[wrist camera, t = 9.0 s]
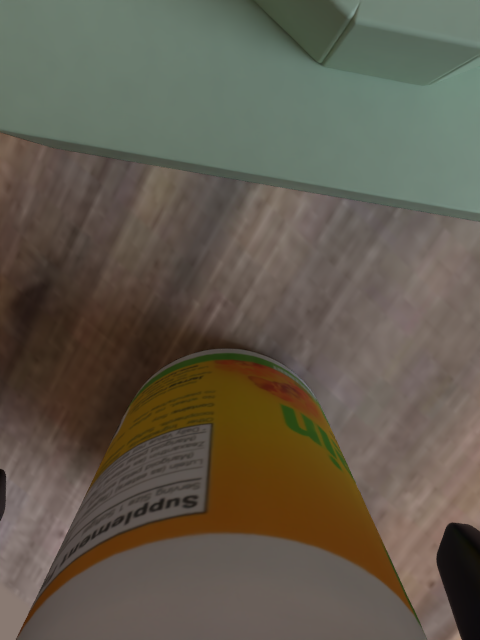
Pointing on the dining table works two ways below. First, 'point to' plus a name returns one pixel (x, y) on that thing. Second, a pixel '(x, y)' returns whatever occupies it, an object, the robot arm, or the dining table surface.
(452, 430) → the dining table surface
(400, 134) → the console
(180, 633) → the supplement bottle
